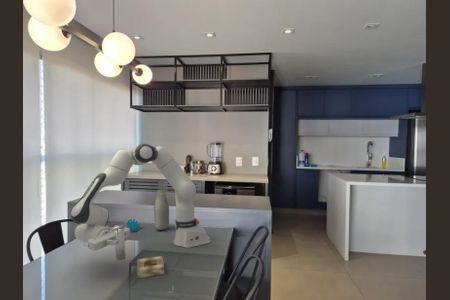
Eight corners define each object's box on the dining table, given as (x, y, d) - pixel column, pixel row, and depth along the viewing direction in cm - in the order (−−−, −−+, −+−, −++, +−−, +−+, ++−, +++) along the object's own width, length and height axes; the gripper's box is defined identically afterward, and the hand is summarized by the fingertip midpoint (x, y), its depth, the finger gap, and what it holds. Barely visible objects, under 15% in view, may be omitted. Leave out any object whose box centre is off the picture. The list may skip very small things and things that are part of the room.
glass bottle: (164, 226, 190) (163, 188, 189) (171, 229, 182) (171, 190, 181) (151, 229, 183) (151, 190, 182) (159, 233, 175) (158, 192, 174)
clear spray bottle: (123, 254, 124) (123, 222, 124) (130, 255, 123) (129, 223, 122) (111, 260, 118) (109, 227, 117) (117, 262, 116) (116, 228, 115)
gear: (131, 231, 174) (125, 219, 178) (126, 236, 176) (120, 224, 180) (144, 229, 183) (138, 217, 188) (139, 234, 185) (134, 222, 189)
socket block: (162, 262, 133) (162, 255, 133) (164, 273, 122) (164, 266, 121) (137, 266, 129) (137, 259, 129) (137, 278, 118) (137, 270, 118)
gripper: (80, 237, 116) (101, 242, 110) (117, 223, 135) (137, 227, 128) (81, 251, 117) (102, 256, 110) (118, 235, 135) (138, 239, 129)
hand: (121, 240), depth 120 cm, fingers closed on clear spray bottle, 4 cm apart
